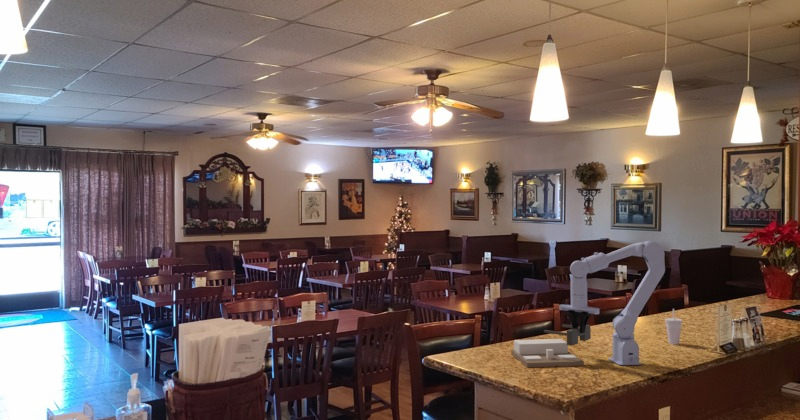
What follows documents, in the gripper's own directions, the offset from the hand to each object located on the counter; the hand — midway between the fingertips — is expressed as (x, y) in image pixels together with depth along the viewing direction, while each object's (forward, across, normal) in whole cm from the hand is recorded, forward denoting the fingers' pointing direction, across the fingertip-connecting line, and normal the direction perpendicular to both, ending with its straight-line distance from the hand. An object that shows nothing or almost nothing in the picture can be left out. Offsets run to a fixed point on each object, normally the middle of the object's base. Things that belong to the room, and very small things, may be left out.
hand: (579, 332), depth 216 cm
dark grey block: (+3, +4, 0) cm, 6 cm away
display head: (+10, +9, +8) cm, 15 cm away
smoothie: (+10, -16, -49) cm, 52 cm away
